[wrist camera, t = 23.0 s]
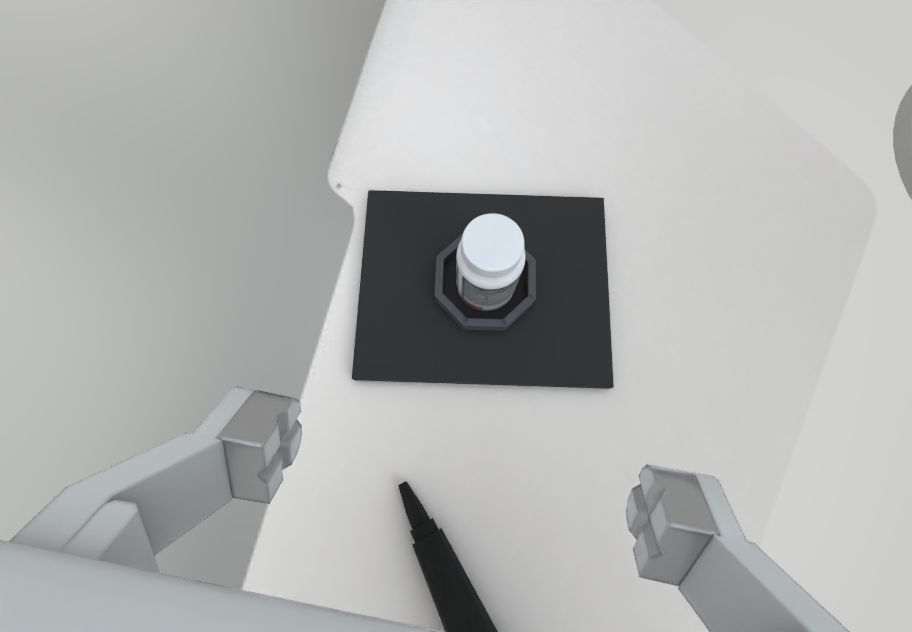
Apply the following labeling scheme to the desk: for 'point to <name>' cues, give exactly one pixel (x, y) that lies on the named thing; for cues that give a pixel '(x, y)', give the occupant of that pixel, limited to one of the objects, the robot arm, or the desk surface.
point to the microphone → (444, 572)
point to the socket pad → (474, 331)
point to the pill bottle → (489, 261)
